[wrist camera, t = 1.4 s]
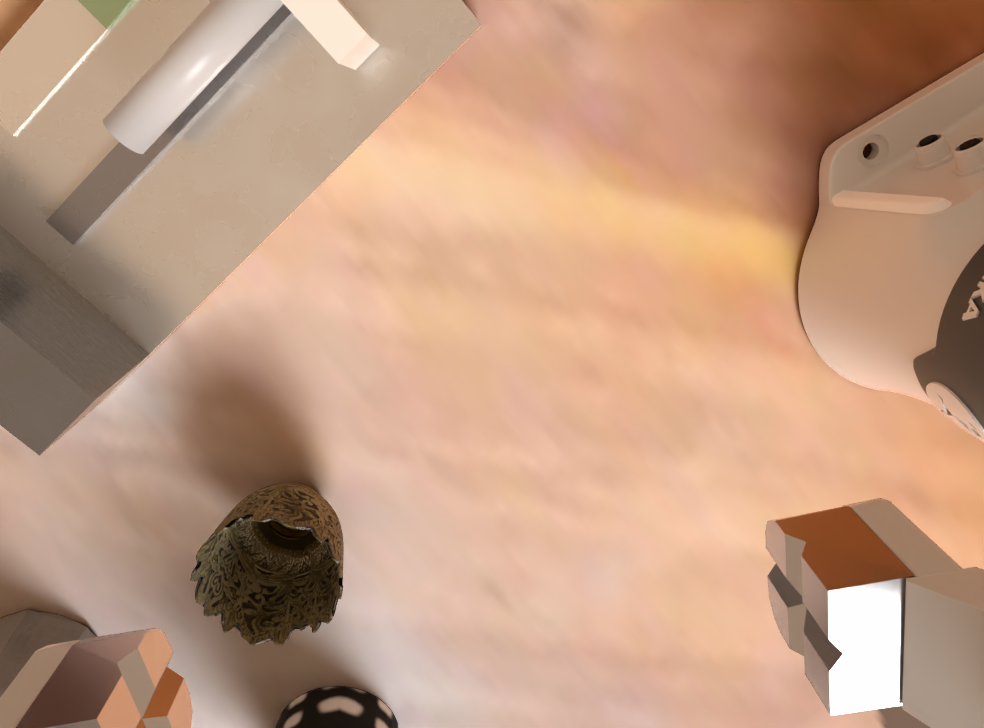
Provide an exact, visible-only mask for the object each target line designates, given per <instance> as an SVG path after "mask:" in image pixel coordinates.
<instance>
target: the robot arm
mask: <svg viewBox="0 0 984 728" xmlns="http://www.w3.org/2000/svg"><path fill="white" fill-rule="evenodd" d="M868 143H870V144H871V147H872V151H871V153H870V155H869V156H868V157H867V158H865V157H864V156H863V149H864V147H865V146H866V145H867V144H868ZM798 298H799V308H800V314H801V318H802V322H803V325H804V328H805V331H806V333H807V336H808V338H809V340H810V342H811V344H812V345H813V347H814V349H815V350H816V352H817V353H818V354H819V356H820V357H821V358H822V359H823V360H824V362H825V363H826V364H827V365H828V366H830V367H831V368H832V369H833V370H834V371H835V372H837V373H838V374H840V375H841V376H843V377H844V378H846V379H848V380H850V381H852V382H854V383H856V384H858V385H861V386H864V387H867V388H871V389H875V390H880V391H889V392H896V393H900V394H904V395H908V396H911V397H914V398H917V399H919V400H922V401H924V402H927V403H929V404H932V405H934V406H935V407H936V408H937V409H938V410H939V411H940V412H941V413H942V414H943V415H945V416H946V417H947V418H948V419H949V420H951V421H952V422H953V423H955V424H956V425H957V426H959V427H960V428H962V429H963V430H965V431H966V432H968V433H969V434H971V435H972V436H974V437H975V438H977V439H978V440H980V441H982V442H983V443H984V53H982V54H980V55H979V56H977V57H975V58H974V59H972V60H970V61H969V62H967V63H965V64H964V65H962V66H960V67H959V68H957V69H955V70H954V71H952V72H950V73H948V74H947V75H945V76H943V77H942V78H940V79H938V80H937V81H935V82H933V83H932V84H930V85H928V86H927V87H925V88H923V89H922V90H920V91H918V92H916V93H915V94H913V95H911V96H910V97H908V98H906V99H905V100H903V101H901V102H900V103H898V104H896V105H895V106H893V107H891V108H890V109H888V110H886V111H884V112H883V113H881V114H879V115H878V116H876V117H874V118H873V119H871V120H869V121H868V122H866V123H864V124H863V125H861V126H859V127H857V128H856V129H854V130H852V131H851V132H849V133H847V134H846V135H844V136H842V137H841V138H839V139H837V140H836V141H834V142H833V143H832V144H831V145H830V146H829V147H828V148H827V149H826V151H825V152H824V154H823V157H822V160H821V164H820V171H819V210H818V214H817V218H816V221H815V224H814V226H813V229H812V231H811V234H810V237H809V239H808V242H807V245H806V248H805V251H804V254H803V258H802V262H801V267H800V273H799V282H798ZM765 535H766V549H767V550H768V552H769V553H770V555H771V556H772V558H773V559H774V561H775V562H776V564H775V566H774V567H773V569H772V570H771V572H770V573H769V575H768V576H767V577H768V588H769V599H770V602H771V606H772V610H773V614H774V618H775V621H776V623H777V625H778V628H779V630H780V633H781V635H782V636H783V638H784V640H785V641H786V643H787V645H788V647H789V648H790V649H792V650H793V651H795V652H797V653H799V654H801V655H803V656H804V659H805V675H806V677H807V678H808V680H809V681H810V683H811V685H812V686H813V688H814V689H815V691H816V693H817V694H818V696H819V698H820V699H821V701H822V702H823V704H824V706H825V707H826V709H827V711H828V712H829V714H830V715H838V714H845V713H852V712H859V711H866V710H873V709H880V708H887V707H894V706H901V705H902V709H903V710H905V711H906V712H908V713H909V714H911V715H913V716H914V717H916V718H917V719H919V720H920V721H922V722H923V723H925V724H926V725H928V726H930V727H931V728H984V570H983V569H980V568H977V567H972V568H966V569H963V568H962V567H960V566H959V565H958V564H957V563H956V562H955V561H954V560H953V559H952V558H951V557H950V556H949V555H947V554H946V553H945V552H944V551H943V550H942V549H941V548H940V547H939V546H938V545H937V544H935V543H934V542H933V541H932V540H931V539H930V538H929V537H928V536H927V535H926V534H925V533H924V532H922V531H921V530H920V529H919V528H918V527H917V526H916V525H915V524H914V523H913V522H912V521H911V520H909V519H908V518H907V517H906V516H905V515H904V514H903V513H902V512H901V511H900V510H899V509H898V508H896V507H895V506H894V505H893V504H892V503H891V502H890V501H888V500H885V499H882V498H878V499H873V500H868V501H864V502H859V503H854V504H849V505H844V506H843V507H839V508H834V509H829V510H823V511H818V512H813V513H807V514H802V515H797V516H792V517H786V518H781V519H776V520H770V521H767V526H766V531H765ZM172 654H173V651H172V648H171V646H170V644H169V642H168V640H167V637H166V635H165V633H164V632H162V631H160V630H158V629H155V628H152V629H145V630H139V631H132V632H126V633H119V634H113V635H106V636H100V637H93V638H87V639H83V640H74V641H69V642H63V643H58V644H52V645H47V646H45V647H43V648H41V649H38V650H36V651H35V652H34V654H33V655H32V656H31V658H30V659H29V660H28V662H27V663H26V664H25V666H24V667H23V668H22V669H21V671H20V672H19V673H18V675H17V676H16V677H15V679H14V680H13V681H12V683H11V684H10V685H9V687H8V688H7V689H6V691H5V692H4V693H3V695H2V696H1V697H0V728H191V720H192V705H191V699H190V693H189V690H188V688H187V685H186V683H185V680H184V678H182V677H181V676H179V675H178V674H177V673H175V672H174V671H172V670H171V669H169V668H168V667H167V666H168V664H169V661H170V659H171V656H172Z"/></svg>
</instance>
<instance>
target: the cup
mask: <svg viewBox="0 0 984 728" xmlns="http://www.w3.org/2000/svg"><path fill="white" fill-rule="evenodd" d="M196 560H197V565H196V567H195V569H194V570H193V572H192V575H191V581H194V582H196V581H198V580H199V581H198V584H197V587H196V590H195V599H196V602H197V603H199V604H203V607H204V616H213V615H215V616H217V615H219V614H220V613H221V618H222V619H221V624H222V628H223V631H224V632H227V631H229V630H230V629H232V628H233V627H235V628H236V629H238V630H239V631H240V634H241V636H242V637H243V638H244V639H245V640H247V641H248V642H249V643H250V644H251V645H258V644H261V643H263V642H268V641H271V640H272V641H273V642H274V643H275V644H278V645H283V644H285V643H286V642H287V641H288V639H289V636H290V634H291V633H292V631H293V630H297V629H298V630H303V629H305V628H306V627H307V626H310V627H312V633H315V632H316V631H317V630H318V629H319V627H320V625H321V622H323V623H327V624H328V623H329V622H330V621H331V620H332V618H333V616H334V613H335V610H336V605H337V602H338V599H341V596H342V591H343V585H342V579H343V535H342V529H341V525H340V522H339V519H338V517H337V515H336V513H335V511H334V510H333V508H332V507H331V506H330V504H329V503H328V502H327V501H326V500H325V499H324V498H323V497H322V496H320V495H319V494H318V493H317V492H316V491H315V490H314V489H312V488H311V487H309V486H307V485H304V484H299V483H289V484H278V485H272V486H268V487H265V488H262V489H260V490H257V491H255V492H254V493H252V494H250V495H249V496H247V497H246V498H245V499H244V500H242V501H241V502H240V503H239V504H238V505H237V506H236V507H235V508H234V509H233V510H232V511H231V512H230V513H229V514H228V516H227V517H226V518H225V519H224V520H223V522H222V523H221V524H220V525H219V527H218V528H217V529H216V530H215V532H214V533H213V534H212V535H211V537H210V538H209V539H208V540H207V541H206V542H205V543H204V544H203V546H202V547H201V548H200V550H199V551H198V553H197V555H196Z"/></svg>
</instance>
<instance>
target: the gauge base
mask: <svg viewBox="0 0 984 728" xmlns="http://www.w3.org/2000/svg"><path fill="white" fill-rule="evenodd" d="M211 1H212V0H44V1H43V2H42V3H41V5H40V6H39V7H38V8H37V9H36V10H35V12H34V13H33V14H32V15H31V16H30V17H29V19H28V20H27V21H26V22H25V23H24V24H23V26H22V27H21V28H20V29H19V30H18V31H17V33H16V34H15V35H14V36H13V37H12V38H11V40H10V41H9V42H8V43H7V44H6V45H5V47H4V48H3V49H2V50H1V51H0V425H1V426H2V427H4V428H5V429H6V430H7V431H9V432H10V433H11V434H13V435H14V436H15V437H16V438H18V439H19V440H20V441H22V442H23V443H24V444H26V445H27V446H28V447H29V448H31V449H32V450H33V451H35V452H36V453H37V454H38V455H40V454H42V453H43V452H44V451H45V450H46V449H47V448H49V447H50V446H51V445H52V444H53V443H54V442H56V441H57V440H58V439H59V438H60V437H61V436H62V435H64V434H65V433H66V432H67V431H68V430H69V429H71V428H72V427H73V426H74V425H75V424H76V423H78V422H79V421H80V420H81V419H82V418H83V417H85V416H86V415H87V414H88V413H89V412H90V411H91V410H93V409H94V408H95V407H96V406H97V405H98V404H100V403H101V402H102V401H103V400H104V399H105V398H107V397H108V396H109V395H110V394H111V393H112V392H113V391H114V390H115V389H116V388H118V387H119V386H120V385H121V384H122V383H123V382H124V381H125V380H126V379H127V378H128V377H129V376H130V375H131V374H132V373H133V372H134V371H135V370H136V369H137V368H138V367H139V366H140V365H141V364H142V363H143V362H144V361H145V360H146V359H147V358H148V357H149V356H150V355H151V354H152V353H153V352H154V351H155V350H156V349H157V348H158V347H159V346H160V345H161V344H162V343H163V342H164V341H165V340H166V339H167V338H168V337H169V336H170V335H171V334H172V333H173V332H174V331H175V330H176V329H177V328H178V327H179V326H180V325H181V324H182V323H183V322H184V321H185V320H186V319H187V318H188V317H189V316H190V315H191V314H192V313H193V312H194V311H195V310H196V309H197V308H198V307H199V306H200V305H201V304H202V303H203V302H204V301H205V300H206V299H207V298H208V297H209V296H210V295H211V294H212V293H213V292H214V291H215V290H216V289H217V288H218V287H219V286H220V285H221V284H222V283H223V282H224V281H225V280H226V279H227V278H228V277H230V276H231V275H232V274H233V273H234V272H235V271H236V270H237V269H238V268H239V267H240V266H241V265H242V264H243V263H244V262H245V261H246V260H247V259H248V258H249V257H250V256H251V255H252V254H253V253H254V252H255V251H256V250H257V249H258V248H259V247H260V246H261V245H262V244H263V243H264V242H265V241H266V240H267V239H268V238H269V237H270V236H271V235H272V234H273V233H274V232H275V231H276V230H277V229H278V228H279V227H280V226H281V225H282V224H283V223H284V222H285V221H286V220H287V219H288V218H289V217H290V216H291V215H292V214H293V213H294V212H295V211H296V210H297V209H298V208H299V207H300V206H301V205H302V204H303V203H304V202H305V201H306V200H307V199H308V198H309V197H310V196H311V195H312V194H313V193H314V192H315V191H316V190H317V189H318V188H319V187H320V186H321V185H322V184H323V183H324V182H325V181H326V180H327V179H328V178H329V177H330V176H331V175H332V174H333V173H334V172H335V171H336V170H337V169H338V168H339V167H341V166H342V165H343V164H344V163H345V162H346V161H347V160H348V159H349V158H350V157H351V156H352V155H353V154H354V153H355V152H356V151H357V150H358V149H359V148H360V147H361V146H362V145H363V144H364V143H365V142H366V141H367V140H368V139H369V138H370V137H371V136H372V135H373V134H374V133H375V132H376V131H377V130H378V129H379V128H380V127H381V126H382V125H383V124H384V123H385V122H386V121H387V120H388V119H389V118H390V117H391V116H392V115H393V114H394V113H395V112H396V111H397V110H398V109H399V108H400V107H401V106H402V105H403V104H404V103H405V102H406V101H407V100H408V99H409V98H410V97H411V96H412V95H413V94H414V93H415V92H416V91H417V90H418V89H419V88H420V87H421V86H422V85H423V84H424V83H425V82H426V81H427V80H428V79H429V78H430V77H431V76H432V75H433V74H434V73H435V72H436V71H437V70H438V69H439V68H440V67H441V66H442V65H443V64H444V63H445V62H446V61H447V60H448V59H449V58H450V57H451V56H453V55H454V54H455V53H456V52H457V51H458V50H459V49H460V48H461V47H462V46H463V45H464V44H465V43H466V42H467V41H468V40H469V39H470V38H471V37H472V36H473V35H474V34H475V33H476V32H477V31H478V30H479V29H480V28H481V26H482V24H481V23H480V22H479V20H478V19H477V18H476V17H475V16H474V14H473V13H472V12H471V11H470V10H469V8H468V7H467V6H466V5H465V4H464V2H463V1H462V0H340V1H341V2H342V3H343V4H344V5H345V6H346V7H347V9H348V10H349V11H350V12H351V13H352V14H353V15H354V16H355V18H356V19H357V20H358V21H359V22H360V23H361V24H362V25H363V27H364V28H365V29H366V30H367V31H368V32H369V33H370V35H371V36H372V37H373V38H374V39H375V40H376V41H377V42H378V44H379V46H378V47H377V48H376V50H375V51H374V52H373V53H372V54H371V55H370V56H369V57H368V58H367V59H366V60H365V61H364V62H363V63H362V64H361V65H360V66H359V67H358V68H357V69H356V70H355V69H352V68H349V67H347V66H344V65H341V64H339V63H337V62H336V61H335V59H334V58H333V57H332V56H331V55H330V54H329V53H328V52H327V51H326V50H325V49H324V47H323V46H322V45H321V44H320V43H319V42H318V41H317V40H316V39H315V38H314V36H313V35H312V34H311V33H310V32H309V31H308V30H307V29H306V28H305V27H304V25H303V24H302V23H301V22H300V21H299V20H298V19H297V18H296V17H295V16H294V14H293V13H292V12H291V11H290V10H289V9H288V8H287V7H286V6H285V5H284V4H283V5H282V6H281V7H280V8H279V9H278V11H277V12H276V13H275V14H274V15H273V16H272V17H271V18H270V19H269V20H268V21H267V22H266V23H265V24H264V25H263V27H262V28H261V29H260V30H259V31H258V32H257V33H256V34H255V35H254V36H253V37H252V38H251V39H250V40H249V42H248V43H247V44H246V45H245V46H244V47H243V48H242V49H241V50H240V51H239V52H238V53H237V54H236V55H235V56H234V58H233V59H232V60H231V61H230V62H229V63H228V64H227V65H226V66H225V67H224V68H223V69H222V70H221V71H220V72H219V74H218V75H217V76H216V77H215V78H214V79H213V80H212V81H211V82H210V83H209V84H208V85H207V86H206V87H205V89H204V90H203V91H202V92H201V93H200V94H199V95H198V96H197V97H196V98H195V99H194V100H193V101H192V102H191V103H190V105H189V106H188V107H187V108H186V109H185V110H184V111H183V112H182V113H181V114H180V115H179V116H178V117H177V118H176V119H175V121H174V122H173V123H172V124H171V125H170V126H169V127H168V128H167V129H166V130H165V131H164V132H163V133H162V134H161V136H160V137H159V138H158V139H157V140H156V141H155V142H154V143H153V144H152V145H151V146H150V147H149V148H148V149H147V150H146V152H145V153H144V154H139V153H136V152H134V151H132V150H130V149H129V148H127V147H126V146H124V145H123V144H122V143H120V142H119V141H118V140H117V139H116V138H115V137H114V136H112V134H111V133H110V132H109V131H108V130H107V129H106V127H105V126H104V124H103V119H104V118H105V117H106V116H107V115H108V114H109V113H110V112H111V110H112V109H113V108H114V107H115V106H116V105H117V104H118V103H119V102H120V101H121V99H122V98H123V97H124V96H125V95H126V94H127V93H128V92H129V91H130V90H131V88H132V87H133V86H134V85H135V84H136V83H137V82H138V81H139V80H140V79H141V77H142V76H143V75H144V74H145V73H146V72H147V71H148V70H149V69H150V68H151V67H152V65H153V64H154V63H155V62H156V61H157V60H158V59H159V58H160V57H161V56H162V54H163V53H164V52H165V51H166V50H167V49H168V48H169V47H170V46H171V45H172V43H173V42H174V41H175V40H176V39H177V38H178V37H179V36H180V35H181V34H182V32H183V31H184V30H185V29H186V28H187V27H188V26H189V25H190V24H191V23H192V22H193V20H194V19H195V18H196V17H197V16H198V15H199V14H200V13H201V12H202V11H203V9H204V8H205V7H206V6H207V5H208V4H209V3H210V2H211Z"/></svg>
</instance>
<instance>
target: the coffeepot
mask: <svg viewBox="0 0 984 728" xmlns="http://www.w3.org/2000/svg"><path fill="white" fill-rule="evenodd" d="M93 637H97V636H96V635H95V634H93V633H92V632H91V631H90V630H89V629H88V628H87V627H86V626H84V625H82V624H80V623H78V622H76V621H74V620H72V619H69V618H67V617H64V616H61V615H57V614H53V613H48V612H38V611H32V610H25V611H22V612H18V613H15V614H11V615H7V616H5V617H3V618H1V619H0V697H1V696H2V695H3V693H4V692H5V691H6V689H7V688H8V687H9V685H10V684H11V683H12V681H13V680H14V679H15V677H16V676H17V675H18V673H19V672H20V671H21V669H22V668H23V667H24V666H25V664H26V663H27V662H28V660H29V659H30V658H31V656H32V655H33V654H34V652H35V651H36V650H38V649H41V648H43V647H45V646H47V645H52V644H58V643H63V642H69V641H74V640H83V639H87V638H93Z"/></svg>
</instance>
